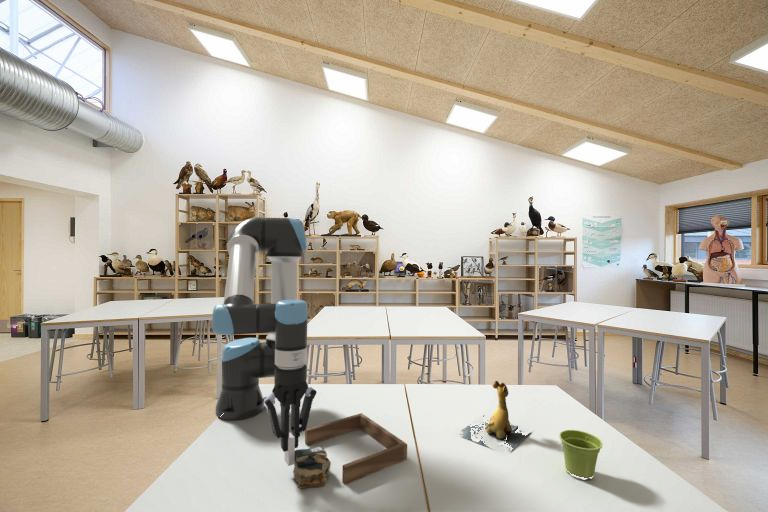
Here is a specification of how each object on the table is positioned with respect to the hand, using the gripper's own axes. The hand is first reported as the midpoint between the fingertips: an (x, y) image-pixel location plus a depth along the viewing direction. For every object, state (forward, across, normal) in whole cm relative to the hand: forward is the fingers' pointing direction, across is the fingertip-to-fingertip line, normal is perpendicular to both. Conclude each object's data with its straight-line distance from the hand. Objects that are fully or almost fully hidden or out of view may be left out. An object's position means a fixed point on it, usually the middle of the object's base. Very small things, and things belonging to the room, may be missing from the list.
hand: (289, 462), depth 90 cm
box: (+3, +18, 0) cm, 18 cm away
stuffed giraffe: (+3, +58, -14) cm, 60 cm away
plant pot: (+3, +59, -39) cm, 71 cm away
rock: (+3, +4, -4) cm, 6 cm away
